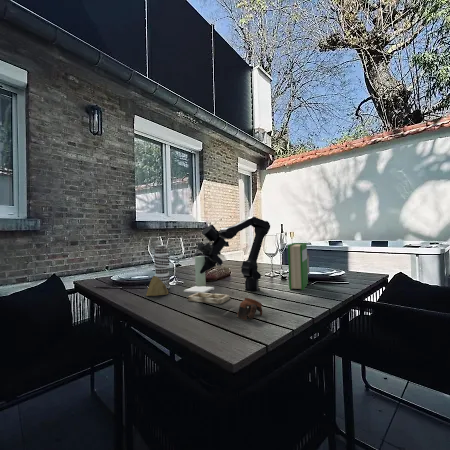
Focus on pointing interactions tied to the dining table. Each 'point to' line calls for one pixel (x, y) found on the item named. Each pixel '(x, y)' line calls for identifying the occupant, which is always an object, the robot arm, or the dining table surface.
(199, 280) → the round block
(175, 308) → the dining table surface
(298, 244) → the hardback book
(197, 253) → the robot arm
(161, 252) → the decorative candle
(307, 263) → the coffee box
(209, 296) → the frame
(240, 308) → the brown lumpy piece
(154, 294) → the rock
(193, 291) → the board
